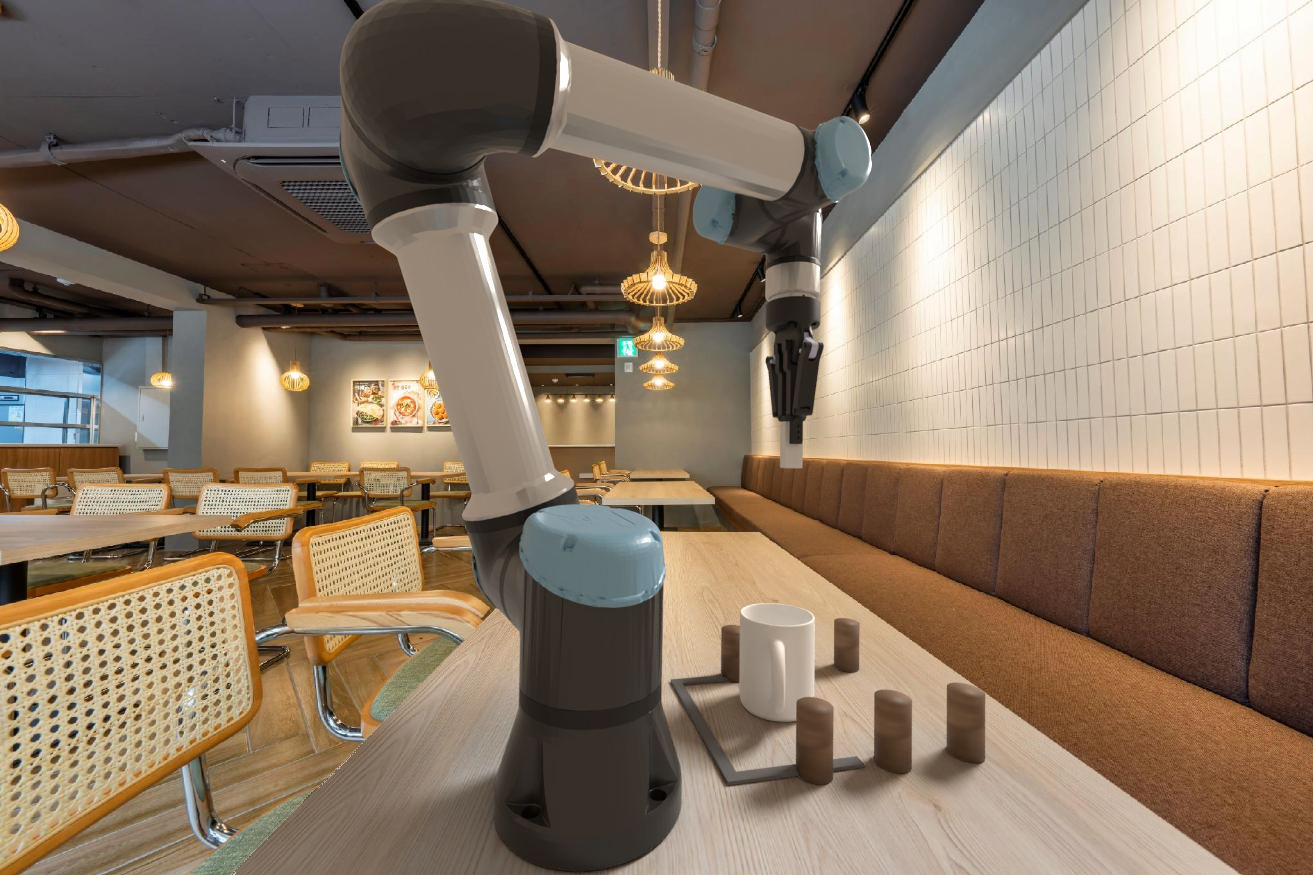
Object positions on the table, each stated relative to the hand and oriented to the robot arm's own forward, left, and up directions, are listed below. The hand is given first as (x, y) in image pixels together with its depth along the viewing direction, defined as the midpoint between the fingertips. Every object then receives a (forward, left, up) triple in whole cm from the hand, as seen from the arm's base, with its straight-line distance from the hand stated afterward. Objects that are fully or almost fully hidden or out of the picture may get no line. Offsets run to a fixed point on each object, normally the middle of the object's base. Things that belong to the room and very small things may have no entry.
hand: (791, 467), depth 73 cm
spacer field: (-2, -15, -26) cm, 30 cm away
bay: (-11, -15, -26) cm, 32 cm away
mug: (-9, -14, -27) cm, 31 cm away
